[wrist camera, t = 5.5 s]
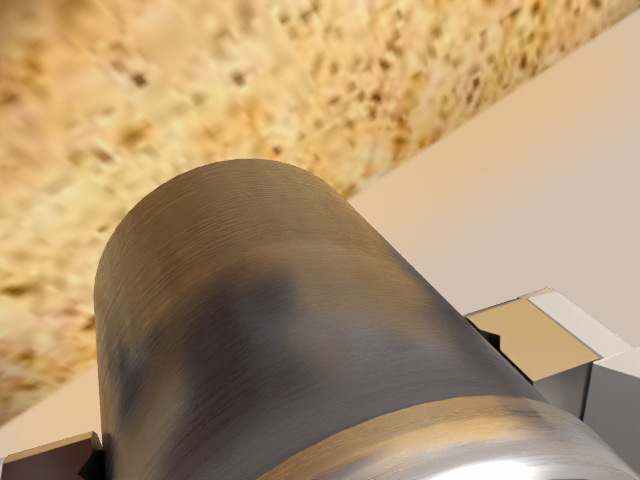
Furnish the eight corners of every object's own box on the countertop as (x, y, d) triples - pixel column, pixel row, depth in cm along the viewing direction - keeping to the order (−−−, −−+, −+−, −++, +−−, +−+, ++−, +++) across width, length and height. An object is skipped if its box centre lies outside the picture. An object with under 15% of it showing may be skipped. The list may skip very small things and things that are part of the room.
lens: (363, 125, 10) (935, 511, 4) (377, 359, 13) (725, 851, 6) (45, 191, 9) (-37, 1027, 2) (129, 438, 12) (214, 1189, 5)
